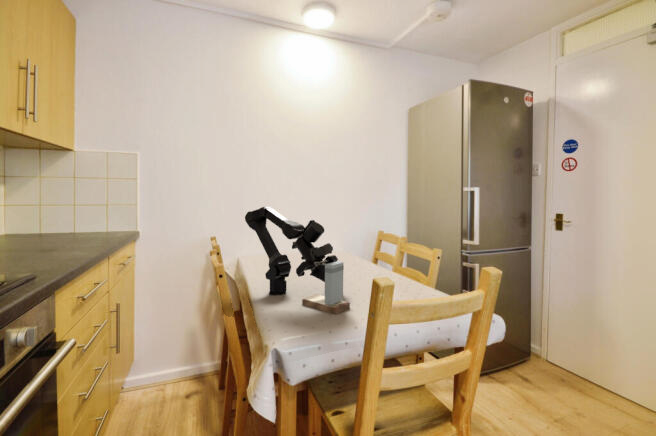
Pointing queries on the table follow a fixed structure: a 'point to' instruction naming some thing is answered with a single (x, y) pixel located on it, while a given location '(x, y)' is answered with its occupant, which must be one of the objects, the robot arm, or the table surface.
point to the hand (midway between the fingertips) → (330, 283)
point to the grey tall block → (333, 282)
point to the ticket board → (319, 303)
